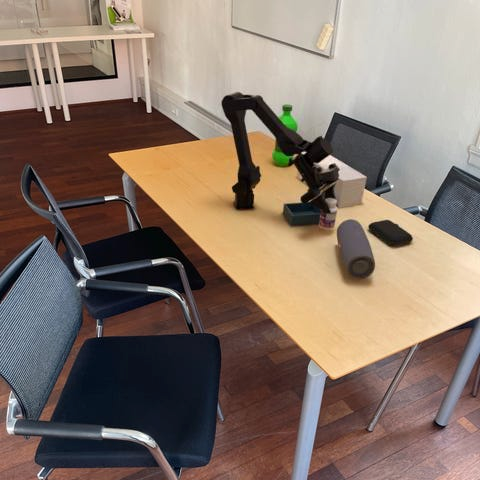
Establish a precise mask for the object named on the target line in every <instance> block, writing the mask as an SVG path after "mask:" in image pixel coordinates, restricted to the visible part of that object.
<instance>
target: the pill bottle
mask: <svg viewBox="0 0 480 480" xmlns="http://www.w3.org/2000/svg"><path fill="white" fill-rule="evenodd" d="M325 200H326V202H327V204H328V206H329V208H330V211H331V213H329V214H328V213H326V212H324V211H323V210H321V214H320V220H319V224H318V226H319V228H321V230H325V231H326V230H333V229H334V228H335V225H336V220H337V216H338V215H337V214H338V207H336V204H337V200H336V199H333V198H327V199H325Z"/></svg>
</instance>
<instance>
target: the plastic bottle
mask: <svg viewBox="0 0 480 480" xmlns="http://www.w3.org/2000/svg"><path fill="white" fill-rule="evenodd" d="M281 110H282V114H281V115H279V116H277V117H278V118H279V119H280V120H281V121H282V122H283V123H284V125H285V126H287V127H288V128H290V129H292V130H294V131H295V132H296V133H298V132H297V131H298V122H297V120H296V119H295V117H294V116H293V115H292V114H291V113H292V111H293V105H292V104H289V103H288V104H282V106H281ZM274 140H275V141H274V149H273V150H272V152H271V153H272V160H273V162H274V163H275V165H276V166H280V167H288V163H289V158H291V157H295V155H293V156H285V155H284V154H283V153H282V151H281V149H280V148H279V146H278V144H277V141H276V139H274Z"/></svg>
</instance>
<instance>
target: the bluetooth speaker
mask: <svg viewBox="0 0 480 480" xmlns="http://www.w3.org/2000/svg"><path fill="white" fill-rule="evenodd" d="M336 241H337V246H338V251H339V254H340V257H341V260H342V263H343V266H344V269H345V271H346V273H347V275H348V276H349V277H350V278H352V279H356V280H364V279H367V278H369V277H370V276H371V275H372V274H373V273H374V271H375V269H376V261H375V260H376V259H375V256H374V253H373V250H372V247H371V243H370V241H369V238H368V236H367V234H366V231H365V229H364V227H363V225H362V224H361V223H360V222H359V221H358V220H356V219H353V218H352V219H350V218H349V219H346V220H343V221H342V222H341V223H340V224H339V225H338V226H337V228H336Z"/></svg>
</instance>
